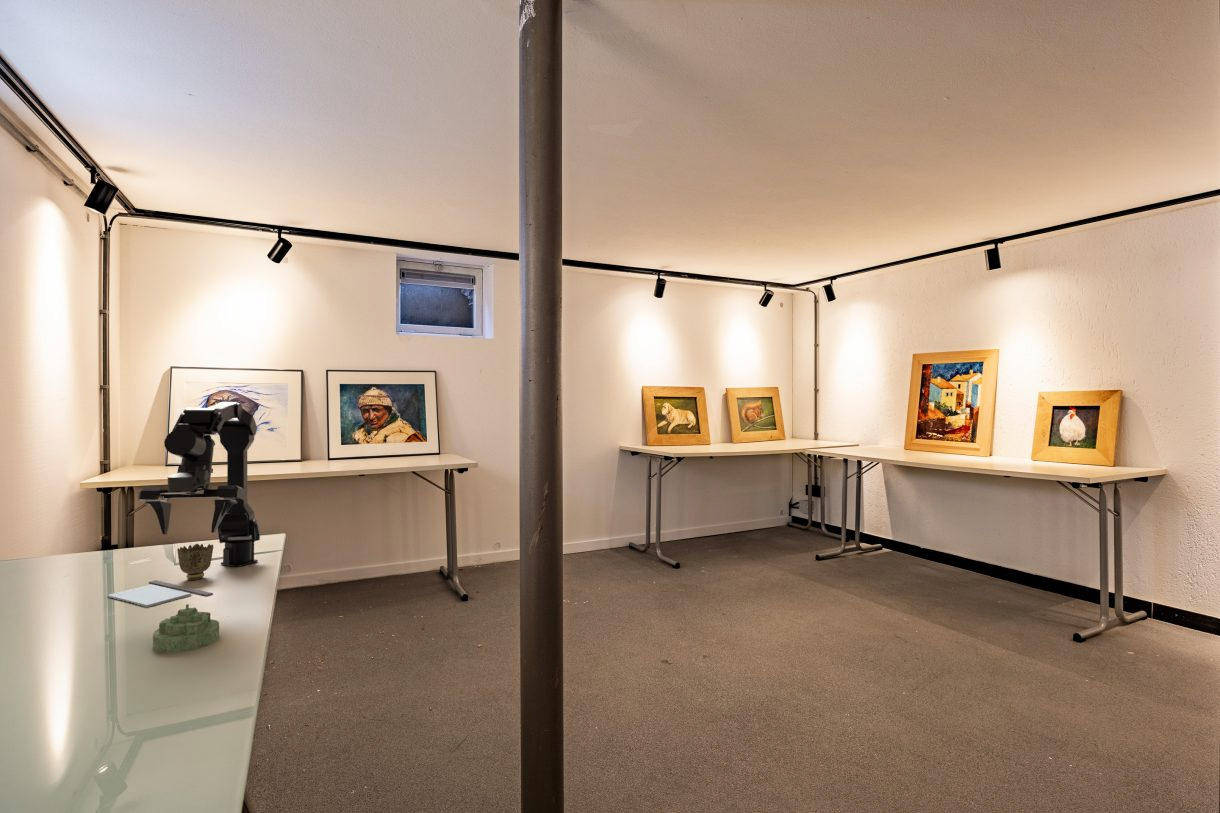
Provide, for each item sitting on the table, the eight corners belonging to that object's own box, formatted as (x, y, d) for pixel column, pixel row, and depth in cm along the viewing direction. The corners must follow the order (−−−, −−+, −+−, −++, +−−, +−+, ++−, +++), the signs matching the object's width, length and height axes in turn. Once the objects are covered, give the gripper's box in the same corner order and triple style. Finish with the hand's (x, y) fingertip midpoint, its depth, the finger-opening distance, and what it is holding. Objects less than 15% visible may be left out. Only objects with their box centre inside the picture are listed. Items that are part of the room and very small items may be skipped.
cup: (220, 575, 154) (220, 543, 154) (197, 583, 146) (198, 550, 146) (193, 573, 154) (193, 542, 154) (169, 582, 147) (169, 549, 147)
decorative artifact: (170, 634, 115) (140, 655, 105) (170, 597, 115) (141, 615, 105) (228, 630, 117) (204, 651, 107) (228, 594, 117) (204, 612, 107)
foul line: (155, 581, 147) (155, 580, 147) (212, 594, 138) (212, 593, 138) (148, 583, 146) (148, 581, 146) (206, 596, 137) (206, 594, 137)
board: (151, 586, 144) (151, 584, 144) (190, 595, 137) (190, 593, 137) (107, 597, 135) (107, 594, 135) (147, 607, 129) (147, 605, 129)
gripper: (130, 457, 125) (120, 534, 121) (232, 456, 130) (225, 530, 126) (154, 465, 135) (145, 536, 132) (247, 464, 140) (241, 532, 137)
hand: (189, 533), depth 131 cm, fingers open, 9 cm apart
